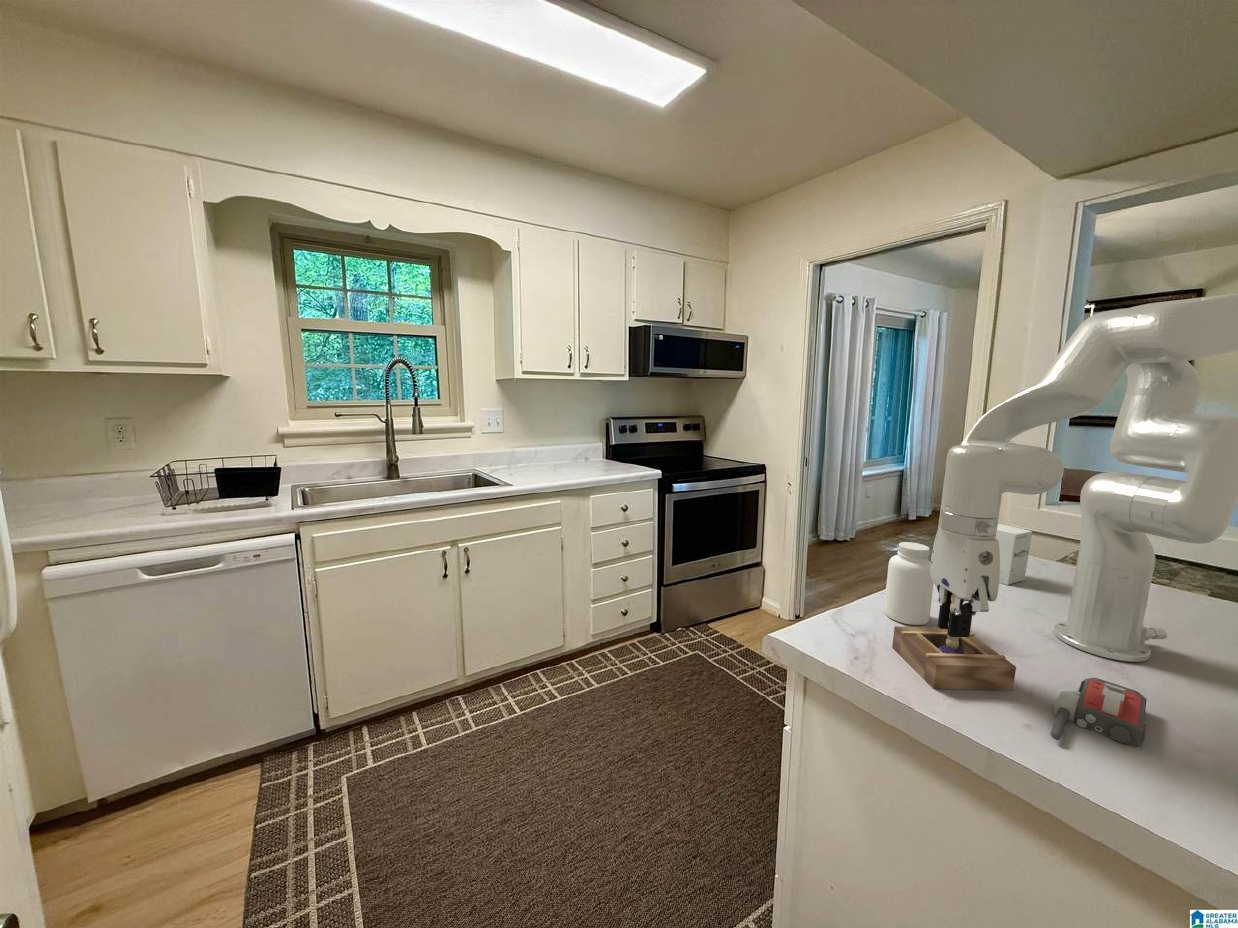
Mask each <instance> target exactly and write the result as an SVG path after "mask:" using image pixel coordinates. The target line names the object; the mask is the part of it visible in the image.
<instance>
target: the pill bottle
mask: <svg viewBox="0 0 1238 928" xmlns="http://www.w3.org/2000/svg"><path fill="white" fill-rule="evenodd" d="M930 551H931V549H930V547H929V546H928V545H925V544H921V543H918V542H911V541H910V542H909V541H902V542H900V543H898V549H897V552H896V553H897V554H895V555H893V556H892V557H890V558H889V560H888V567H887V568H888V569H887V576H886V577H887V578H886V587H885V596H884V608H883V611H884V614H885V615H886V617H888V618H890V619H891V620H893V621H896V622H898V623H901V624H904V625H905V624H906V625H910V626H922V625H927V624H928V623H929V621H930V616H931V608H932V599H933V592H934V585H935V584H934V583H933V582H932V578H931V576H930V563H931V560H929V557H930Z"/></svg>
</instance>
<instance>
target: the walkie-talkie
mask: <svg viewBox="0 0 1238 928" xmlns="http://www.w3.org/2000/svg"><path fill="white" fill-rule="evenodd" d="M1053 706H1054V707H1053V715H1055V716H1056V717H1055V720H1054V723H1053V726H1052V728H1051V730H1050V737H1052V739H1053V740H1055V741H1060V740H1061V738H1062V735H1063V732H1064V729H1065V726H1066V723H1067V721H1071V722H1073V723H1074V724H1075V725H1077V726H1078V727H1080V728H1085V729H1088V730H1091V731H1093V732H1096V733H1098V734H1101V735H1103V736H1106V737H1108V738H1111V739H1113V740H1115V741H1116V742H1118V743H1122V744H1126V745H1130V746H1131V747H1135V748H1141V744H1142V742H1144V741H1145V736H1146V723H1145V720H1146V719H1145V718H1146V717H1145V716H1146V707H1147V698H1146V697H1145V696H1144V695H1142V694H1141V693H1140V692H1139V691H1137V690H1136V689H1131V688H1129V687H1125V686H1123V685H1119V684H1116V683H1114V682H1111V681H1107V680H1104V679H1101V678H1097V677H1088V678H1085V679H1083V680H1082V681H1081V682H1080V686H1079V688H1078V691H1077V690H1064V691H1063V690H1062V691H1061V692H1060V694H1059V696H1058V697H1057V699H1056V700H1055V702H1054V705H1053Z"/></svg>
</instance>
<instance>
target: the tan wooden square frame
mask: <svg viewBox="0 0 1238 928" xmlns="http://www.w3.org/2000/svg"><path fill="white" fill-rule="evenodd" d="M893 627H894V629H893V636H892V638H893V639H892V644H891V645H892V647H891V648H893V650H894V651H895V652H896V653H897V654H898V655H900V657H901V658H903V660H904V661H905V662H906V663H907V664H908V665H909V666H910V667H911V668H912V669H913V670H914V672H916V673H917V674H918V675H919V676H920V677H921V678H922V679H923V680H924V681H925V682H926V683H927V684H928V685H929V686H930V687H931V688H932V689H935V690H965V691H967V690H968V691H1000V692H1001V691H1005V692H1006V691H1007V692H1012V691H1014V685H1015V684H1014V683H1015V678H1016V671H1017V666H1016V665H1014V664H1013V663H1012V662H1010V661H1009V660H1008V659H1006V656H1005V655H1003V654H1000V653H998V652H997V651H995V650H994V649H993V648H991V647H990V646H988V645H987V644H986V643H984V642H983V641H982V640H980V639H979V638H977V636H975V633H973V632H970V636H969V637H959V639H958V642H959V646H958V648H959V649H961V650H962V651H963V652H964V653H965V654H944V653H943V652H941V651H940V650H939V649H938V648H939V647H941V646H943V645H946V640H947V638H948V637H947V631H948V629H940V628H939V627H938V626H937V627H936V626H935V627H932V626H931V627H929V626H893Z"/></svg>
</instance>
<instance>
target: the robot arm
mask: <svg viewBox="0 0 1238 928" xmlns="http://www.w3.org/2000/svg"><path fill="white" fill-rule="evenodd" d="M1237 351H1238V293H1228V294H1227V293H1226V294H1218V295H1211V296H1203V297H1195V298H1194V297H1193V298H1185V299H1176V300H1175V299H1174V300H1168V301H1167V300H1165V301H1159V302H1150V303H1146V304H1145V303H1144V304H1140V305H1136V306H1131V307H1128V308H1127V307H1126V308H1119V309H1112V310H1111V309H1110V310H1107V311H1105V310H1104V311H1102V312H1098V313H1095V314H1093V315H1090V316H1089V317H1087V318H1086V319H1085V320H1084V321H1082V322H1081V324H1079V326H1078V327H1077V328H1076V329H1075V331H1074V332H1073V333H1072V335H1071V336H1070V338H1069V339H1068V340H1067V342H1066V343H1065V344H1064V346H1063V347H1062V348H1061V350H1060V351H1059V352H1058V353H1057V355H1056V356H1055V358H1054V359H1053V360H1052V362H1051V363H1050V365H1049V366H1048V367H1047V368H1046V370H1045V371H1044V373H1043V374H1042V375H1041V376H1040V378H1039V380H1038V381H1037V382H1036V383H1034V384H1033V385H1032V386H1031V385H1030V387H1027V388H1026V389H1024V390H1021V391H1020V392H1018V393H1016V394H1014V395H1012V396H1011V397H1009V398H1008V399H1006V400H1004V401H1003V402H1001V403H999V404H998V405H996V406H994V407H993V408H992V409H990V410H988V411H987V412H986V413H985V414H983V415H982V416H981V417H980V418H979V419H978V420H977V421H976V422H975V423H974V425H973V426H972V427H971V429H970V430H969V432H968V433H967V434H966V435H965V437H964V438H963V440H962V441H961V443H960V444H957V445H954V446H952V447H951V448H949V450H948V452H947V455H946V462H945V471H944V477H943V485H942V486H943V487H942V495H941V504H940V511H939V518H938V526H937V530H936V534H935V538H934V542H933V546H932V547H933V548H932V551H931V557H930V562H931V563H930V576H931V578H932V582H933V583H934V584H933V585H935V587H936V589H937V592H938V593H937V594H938V598H937V601H938V604H940V605H939V611H938V619H937V627H939V628H940V629H948V632H947V634H948V635H949V636H950V637H969V636H970V633H971V627H972V620H973V616H976V614H977V613H989V611H990V608H989V607H990V606H989V602H995V601H996V600H997V598H998V594H999V587H1000V586H999V585H1000V583H999V576H1000V549H999V542H998V540H997V539H996V533H997V526H998V524H999V517H1000V510H1001V505H1002V500H1003V499H1002V498H1003V494H1004V493H1012V494H1019V495H1030V496H1031V495H1040V494H1044V493H1047V492H1049V491H1051V490H1053V489H1054V488H1056V487H1057V486H1058V484H1060V482H1061V480H1062V478H1063V476H1064V471H1065V468H1064V467H1065V466H1064V464H1063V461H1062V460H1061V458H1060V457H1059V456H1058V454H1056V453H1055V452H1053V451H1051V450H1049V449H1047V448H1044V447H1041V446H1037V445H1028V444H1019V443H1014V442H1010V441H1011V440H1013V439H1014V438H1015V437H1017V436H1018V435H1020V434H1023V433H1024V432H1026V431H1029V430H1032V429H1035V428H1037V427H1040V426H1044V425H1048V424H1052V423H1056V422H1059V421H1060V422H1061V421H1065V420H1068V419H1072V418H1075V417H1080V416H1082V415H1086V414H1089V413H1091V412H1092V411H1094V410H1097V408H1098V407H1099V406H1100V405H1101V404H1102V402H1103V401H1104V400H1105V398H1107V396H1108V394H1109V393H1110V391H1111V390H1112V388H1113V387H1114V386H1115V385H1116V383H1117V382H1118V380H1119V379H1120V377H1121V376H1122V375H1123V374H1124V372H1125V373H1126V375H1127V376H1126V377H1127V386H1126V391H1125V395H1124V397H1123V401H1122V405H1121V407H1120V410H1119V414H1118V416H1117V418H1116V421H1115V426H1114V430H1113V432H1112V435H1111V439H1110V443H1109V452H1110V454H1111V456H1112V457H1113V459H1115V460H1117V461H1118V462H1121V463H1124V464H1127V465H1131V466H1138V467H1142V468H1151V469H1156V470H1157V469H1158V470H1166V471H1173V472H1179V473H1186V478H1185V480H1181V479H1180V480H1179V479H1172V478H1168V477H1167V478H1166V477H1161V476H1155V475H1148V474H1147V475H1146V474H1141V473H1133V472H1125V471H1124V472H1123V471H1108V472H1101V473H1098V474H1095V475H1093V476H1091V477H1090V478H1088V480H1086V481H1085V483H1084V484H1083V486H1082V488H1081V489H1080V490H1081V491H1080V497H1079V500H1080V501H1079V502H1080V504H1079V505H1080V513H1081V534H1080V541H1079V549H1078V553H1077V554H1078V555H1077V561H1076V564H1075V571H1074V577H1073V583H1072V588H1071V596H1070V600H1069V606H1068V611H1067V617H1066V621H1060V622H1057V623H1055V625H1054V627H1053V632H1054V634H1055V636H1056V637H1057V638H1058V639H1060V641H1062V642H1064V643H1066V644H1068V645H1069V646H1072V647H1074V648H1076V649H1079V650H1081V651H1083V652H1086V653H1089V654H1092V655H1095V656H1098V657H1102V658H1105V659H1110V660H1115V661H1121V662H1131V663H1133V662H1134V663H1141V662H1146V661H1148V660H1149V659H1151V654H1152V653H1151V652H1152V650H1151V648H1150V647H1148V646H1147V645H1146V644H1145V642H1146V641H1148V640H1149V641H1150V640H1166V639H1167V637H1168V634H1167V631H1166V630H1165V629H1163V628H1160V627H1146V626H1144V620H1145V615H1146V610H1147V605H1148V599H1149V596H1150V590H1151V585H1152V581H1153V576H1154V571H1155V566H1156V553H1155V550H1154V547H1153V545H1152V543H1151V541H1150V539H1149V537H1148V535H1147V534H1149V535H1152V536H1156V537H1160V538H1166V539H1168V540H1169V539H1170V540H1175V541H1179V542H1184V543H1189V544H1198V545H1199V544H1208V543H1211V542H1215V540H1217V539H1219V538H1220V537H1221V536H1222V535H1223V534H1224V533H1225V531H1226V530H1227V528H1228V526H1229V525H1230V523H1231V520H1232V517H1233V515H1234V513H1235V510H1236V508H1237V504H1238V417H1237V416H1233V415H1228V414H1227V415H1226V414H1218V413H1197V412H1196V409H1197V405H1198V401H1199V398H1200V395H1201V392H1202V389H1203V382H1202V378H1201V376H1200V375H1199V373H1198V371H1197V370H1196V368H1195V367H1194V366H1193V365H1192V363H1190V362H1189V361H1196V360H1201V359H1205V358H1211V357H1215V356H1220V355H1224V354H1229V353H1234V352H1237ZM943 578H945V579H946V580H947V581H948V583H949V587H947V586H945V585H944V584H943V583H942V582H941V581H942V579H943ZM952 594H955V602H954V609H953V611H954V612H951V610H950V605H951V603H952V602H951V596H952ZM963 601H964V602H965V603H964V602H963ZM949 614H950V617H949ZM948 622H949V624H948Z"/></svg>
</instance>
